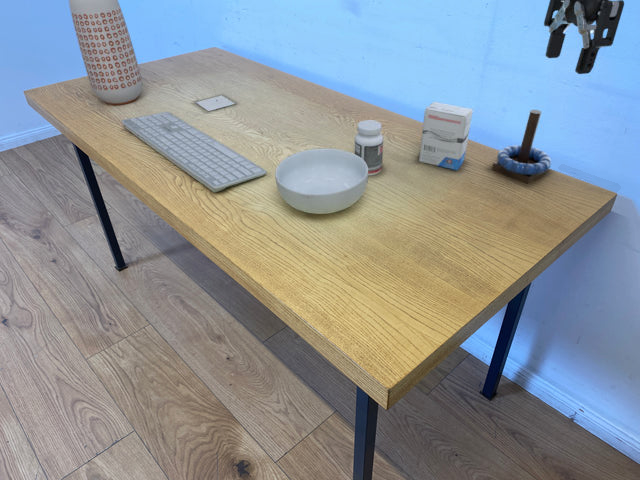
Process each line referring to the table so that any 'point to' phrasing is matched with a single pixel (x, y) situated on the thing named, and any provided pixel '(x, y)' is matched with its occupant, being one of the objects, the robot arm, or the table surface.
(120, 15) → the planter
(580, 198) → the table surface
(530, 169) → the blue teething ring
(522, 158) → the stand
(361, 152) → the pill bottle
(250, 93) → the table surface
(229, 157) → the keyboard
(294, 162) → the cereal bowl
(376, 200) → the table surface
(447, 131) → the ink box
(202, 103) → the coaster
